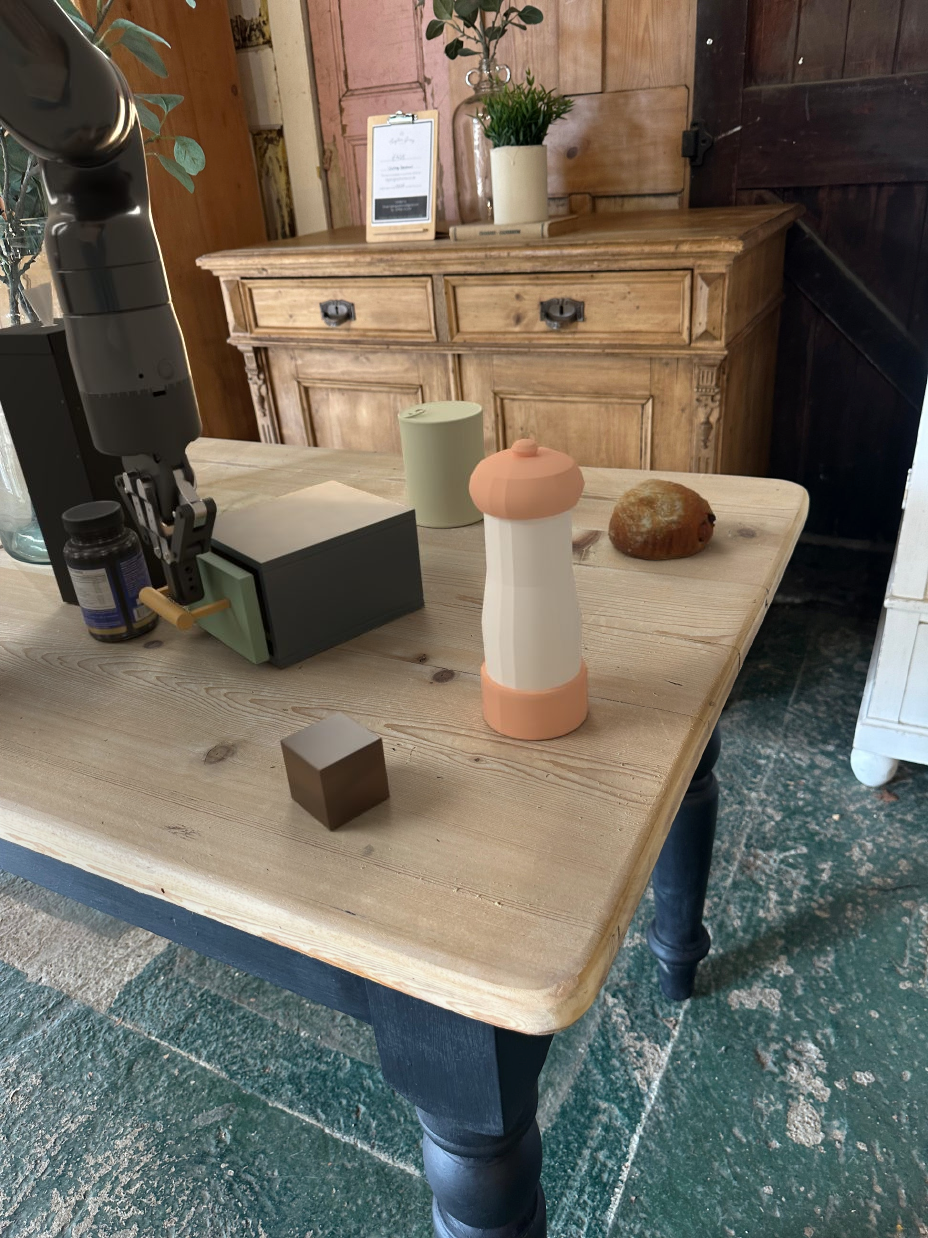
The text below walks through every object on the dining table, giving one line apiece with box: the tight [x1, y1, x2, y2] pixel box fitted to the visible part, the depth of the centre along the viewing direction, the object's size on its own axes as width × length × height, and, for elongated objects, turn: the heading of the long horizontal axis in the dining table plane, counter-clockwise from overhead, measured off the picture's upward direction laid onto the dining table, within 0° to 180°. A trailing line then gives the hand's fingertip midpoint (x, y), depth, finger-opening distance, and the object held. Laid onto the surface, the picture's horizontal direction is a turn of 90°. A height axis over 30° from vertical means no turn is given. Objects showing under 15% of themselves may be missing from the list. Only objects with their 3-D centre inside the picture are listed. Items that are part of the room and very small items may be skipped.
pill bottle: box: [62, 501, 160, 642], centre depth 74 cm, size 6×6×11 cm
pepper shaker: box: [469, 438, 589, 741], centre depth 56 cm, size 7×7×19 cm
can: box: [397, 400, 486, 529], centre depth 94 cm, size 9×9×12 cm
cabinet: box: [210, 479, 426, 670], centre depth 74 cm, size 15×13×9 cm
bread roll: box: [607, 478, 717, 561], centre depth 84 cm, size 10×10×8 cm
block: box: [279, 710, 391, 832], centre depth 52 cm, size 4×4×4 cm
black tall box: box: [0, 281, 168, 606], centre depth 77 cm, size 8×8×28 cm
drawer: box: [139, 545, 272, 666], centre depth 71 cm, size 18×11×7 cm, turn 131°
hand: (189, 600), depth 67 cm, fingers closed
